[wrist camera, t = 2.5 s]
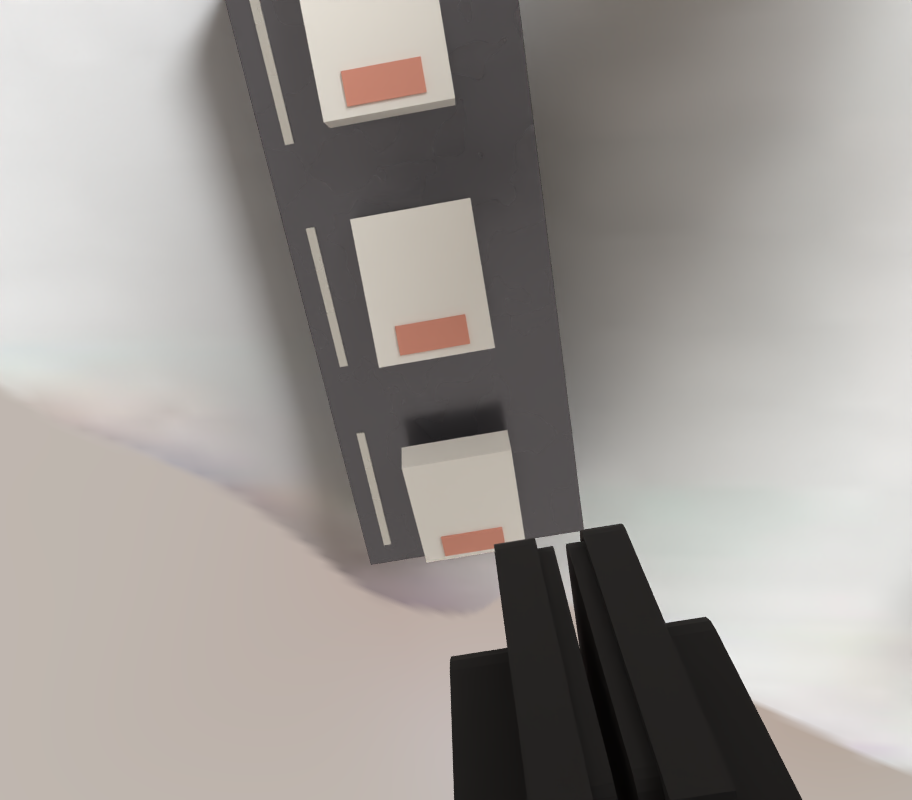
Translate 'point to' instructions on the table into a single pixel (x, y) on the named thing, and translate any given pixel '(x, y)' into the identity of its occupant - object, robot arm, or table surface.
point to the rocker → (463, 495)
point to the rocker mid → (423, 282)
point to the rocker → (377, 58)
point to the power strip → (409, 186)
